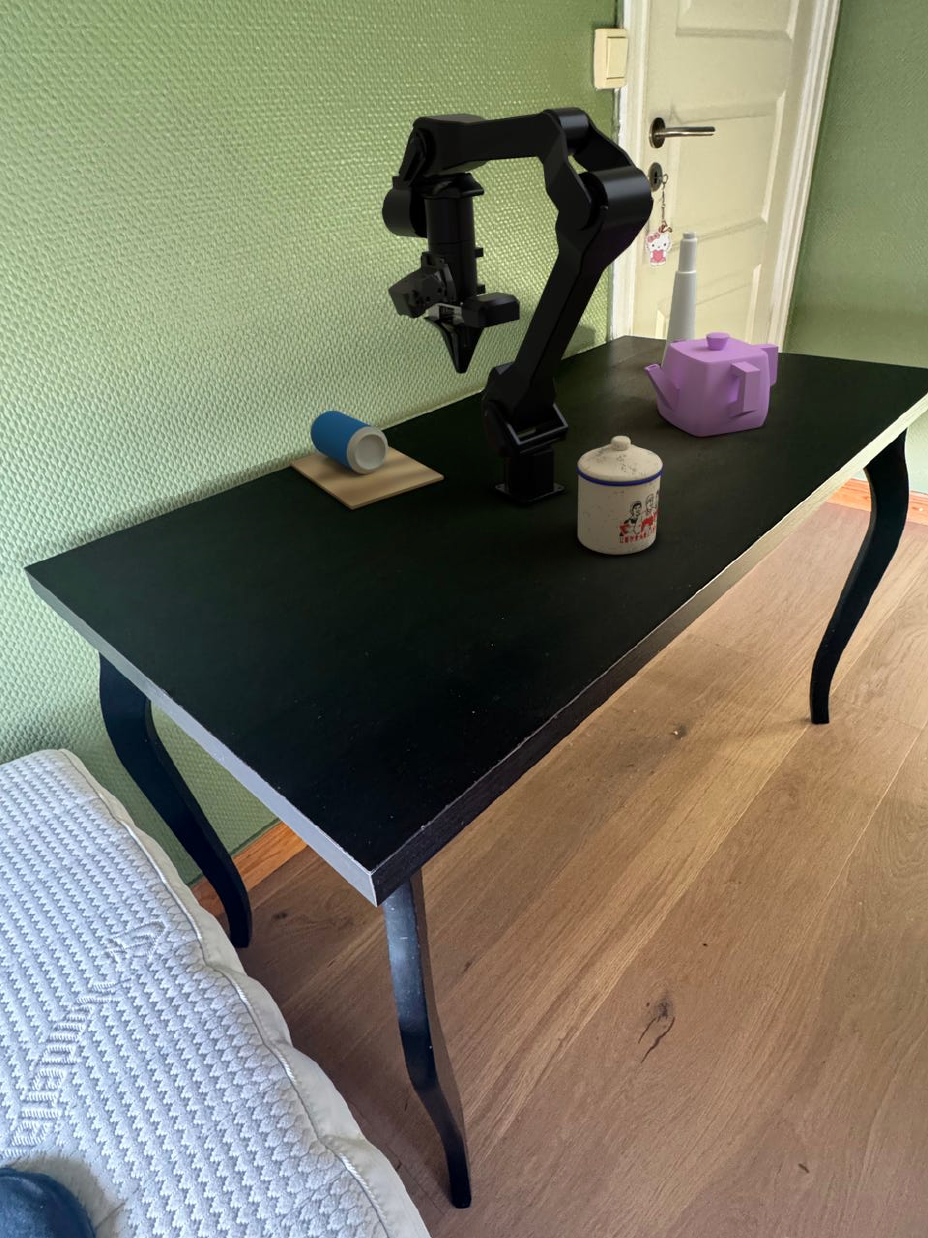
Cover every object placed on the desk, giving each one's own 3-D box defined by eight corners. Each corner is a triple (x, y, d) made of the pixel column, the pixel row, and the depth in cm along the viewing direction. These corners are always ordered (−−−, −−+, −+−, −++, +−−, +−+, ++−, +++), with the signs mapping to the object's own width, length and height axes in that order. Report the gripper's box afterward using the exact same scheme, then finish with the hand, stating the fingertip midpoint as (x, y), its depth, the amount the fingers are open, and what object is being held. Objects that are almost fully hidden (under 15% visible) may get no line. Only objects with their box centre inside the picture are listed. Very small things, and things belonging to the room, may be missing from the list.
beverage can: (364, 419, 100) (320, 400, 109) (341, 463, 101) (299, 441, 109) (398, 440, 105) (353, 421, 113) (376, 482, 106) (334, 459, 114)
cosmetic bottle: (701, 365, 138) (716, 230, 125) (682, 374, 134) (695, 235, 122) (673, 360, 141) (684, 228, 129) (653, 368, 138) (663, 233, 126)
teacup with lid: (629, 565, 81) (635, 461, 74) (559, 542, 86) (559, 443, 80) (685, 523, 88) (695, 424, 81) (617, 504, 93) (622, 410, 87)
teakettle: (753, 444, 106) (766, 353, 99) (635, 430, 113) (640, 344, 106) (778, 406, 118) (792, 322, 111) (670, 395, 125) (676, 316, 118)
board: (443, 479, 103) (443, 475, 103) (351, 509, 97) (351, 506, 97) (373, 440, 117) (373, 437, 117) (289, 465, 111) (288, 461, 111)
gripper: (354, 245, 94) (372, 373, 102) (439, 256, 80) (451, 402, 89) (430, 232, 99) (441, 355, 107) (521, 241, 85) (525, 381, 94)
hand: (461, 372), depth 99 cm, fingers closed
